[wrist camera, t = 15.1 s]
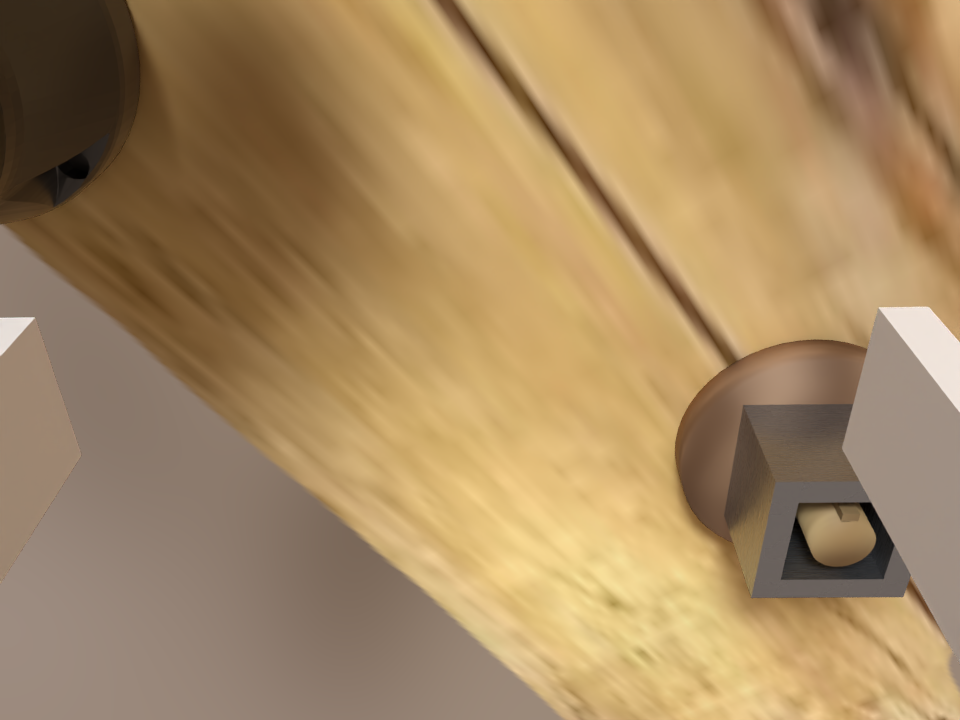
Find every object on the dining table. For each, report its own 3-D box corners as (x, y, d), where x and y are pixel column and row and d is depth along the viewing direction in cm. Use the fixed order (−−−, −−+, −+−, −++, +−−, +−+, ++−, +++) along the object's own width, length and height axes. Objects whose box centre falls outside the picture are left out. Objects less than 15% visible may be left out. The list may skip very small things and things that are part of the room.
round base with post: (664, 528, 52) (690, 636, 45) (688, 340, 45) (723, 436, 38) (885, 526, 51) (944, 635, 45) (944, 338, 44) (1025, 433, 38)
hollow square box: (723, 514, 48) (751, 597, 43) (743, 404, 44) (775, 482, 39) (859, 513, 48) (903, 596, 43) (891, 403, 44) (943, 480, 39)
